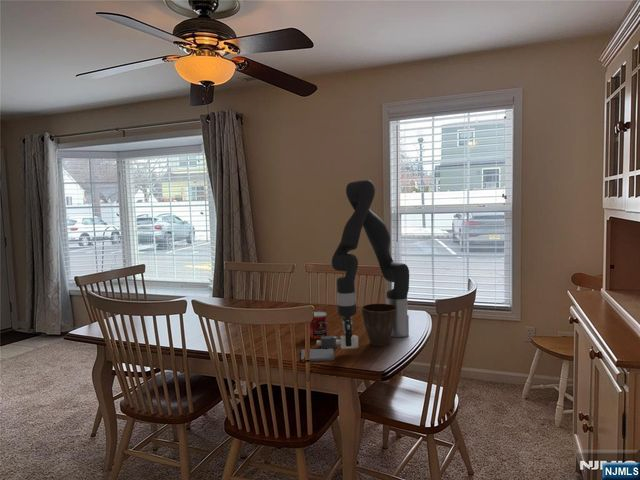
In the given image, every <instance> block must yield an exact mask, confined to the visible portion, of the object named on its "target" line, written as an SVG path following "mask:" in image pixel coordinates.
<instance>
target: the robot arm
mask: <svg viewBox="0 0 640 480" xmlns="http://www.w3.org/2000/svg"><path fill="white" fill-rule="evenodd" d="M375 188H376V187H375V185H374V183H373V181H372V180H369V179H361V180H357V181H352V182H349V183H347V185H346V188H345V195H346V197H347V200H348V202H349V203H350V206H351V207H352V209H353V210H354V211H353V213H352V215H351V216H350V217H349V219H348V220H347V222H346V223H345V225H344V227H343V231H342V235H341V239H340V243H339V244H338V245H337V248H336V249H335V251H334V253H333V255H332V257H331V266H332V269H333V270H334V271H338V272H345V276H340V277H338V278H337V280H336V291H337V292H336V293H337V294H336V307H337V315H338V316H340V317H342V318H341V322H342V329H343V333H344V335H345V337H346V346H351V337H352V335H353V333H352V332H353V318H352V316H355V315H356V314H357V303H356V301H357V299H356V290H355V280H356V275H357V270H358V266H359V259H358V258H357V256H356V255H355V254H353V253H349V252H352V251H355V250H357V248H358V245H359V241H360V238H361V237H360V236H361V232H362V229H363V230H364V232H365V234H366V237H367V239H368V241H369V243H370V245H371V247H372V250H373V252H374V254H375V257H376V259H377V262H378V265H379V269H380V271H381V274H382V277H383V278H384V279H385V280H386V281H387V282H390V283H393V288H392V289H389V290H387V292H386V304H390V305H393V306H396V307H397V310H396V317H395V323H394V327H393V331H392V334H391V337H392V338H403V337H409V336H410V335H409V333H410V331H409V330H410V327H409V321H410V320H409V319H410V318H409V313H408V295H409V294H408V293H409V289H410V269H409V267H408V265H407V264H406V263H403V262H398V261H397V262H395V261H394V259H393V258H392V255H391V253H390V244H391V235H390V232H389V230H388V228H387V225H386V224H385V222H384V221H383V219H381V218H380V217H379V216H378V215H377V214H376V213H375V212H373V211H372V210H371V207H372V203H373V200H374V198H375V194H376V189H375Z"/></svg>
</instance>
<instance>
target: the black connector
mask: <svg viewBox="0 0 640 480" xmlns="http://www.w3.org/2000/svg"><path fill="white" fill-rule="evenodd" d="M336 340H339V338H338V336H336V335H327V336H321V340H316V345H317V346H321V348H320V349H323V348H324V349H325V348H327V349H332V348H333V349H337V348H338V347H339V344H336Z"/></svg>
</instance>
